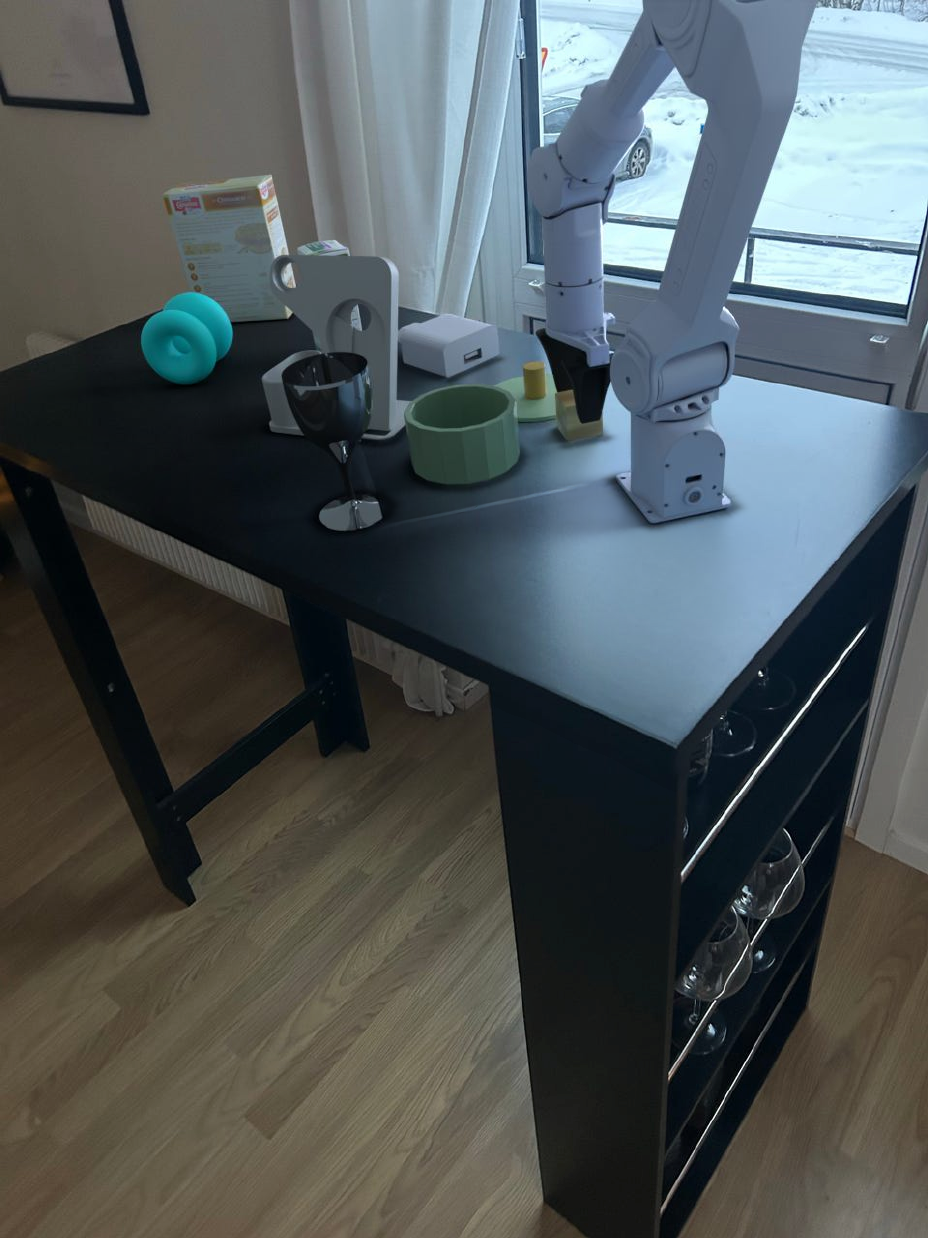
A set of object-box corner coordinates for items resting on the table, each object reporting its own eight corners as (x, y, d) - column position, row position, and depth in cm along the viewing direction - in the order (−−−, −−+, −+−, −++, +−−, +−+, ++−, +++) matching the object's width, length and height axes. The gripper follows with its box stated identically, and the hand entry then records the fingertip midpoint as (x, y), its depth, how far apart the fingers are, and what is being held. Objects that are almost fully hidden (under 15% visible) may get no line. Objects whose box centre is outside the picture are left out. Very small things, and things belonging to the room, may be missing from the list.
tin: (532, 475, 94) (528, 417, 91) (424, 497, 93) (415, 439, 89) (504, 430, 104) (499, 376, 100) (405, 450, 102) (396, 395, 98)
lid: (604, 413, 104) (603, 374, 101) (498, 435, 103) (494, 395, 100) (570, 374, 114) (568, 337, 111) (473, 393, 113) (469, 356, 110)
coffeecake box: (301, 304, 148) (273, 173, 137) (288, 319, 143) (258, 184, 131) (213, 310, 151) (179, 181, 139) (198, 325, 145) (160, 193, 134)
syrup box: (315, 353, 130) (293, 246, 121) (354, 343, 131) (335, 236, 123) (328, 365, 125) (305, 255, 117) (368, 354, 127) (349, 245, 118)
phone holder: (263, 430, 111) (223, 278, 100) (308, 396, 118) (276, 250, 107) (388, 445, 104) (360, 283, 93) (429, 407, 111) (407, 252, 100)
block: (603, 438, 99) (602, 399, 97) (567, 446, 99) (566, 406, 96) (591, 424, 102) (590, 385, 100) (556, 431, 102) (554, 392, 99)
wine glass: (354, 485, 97) (326, 346, 88) (409, 503, 92) (386, 359, 84) (298, 519, 92) (263, 377, 83) (354, 540, 88) (322, 392, 79)
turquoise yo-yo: (243, 357, 132) (224, 286, 126) (221, 385, 124) (200, 311, 118) (177, 361, 133) (155, 292, 127) (151, 390, 125) (127, 317, 119)
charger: (427, 336, 130) (500, 358, 121) (376, 357, 126) (447, 382, 116) (423, 302, 128) (497, 322, 118) (370, 323, 123) (442, 345, 113)
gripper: (639, 291, 85) (638, 426, 93) (588, 251, 97) (591, 375, 105) (566, 305, 84) (572, 440, 93) (524, 263, 96) (532, 386, 104)
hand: (578, 406), depth 99 cm, fingers open, 7 cm apart
